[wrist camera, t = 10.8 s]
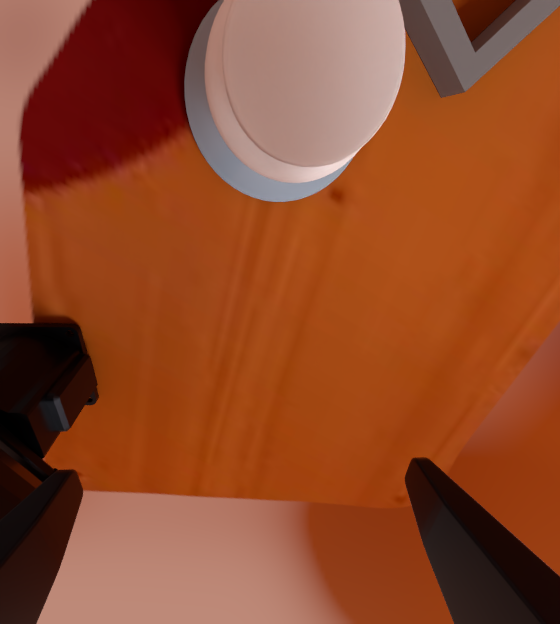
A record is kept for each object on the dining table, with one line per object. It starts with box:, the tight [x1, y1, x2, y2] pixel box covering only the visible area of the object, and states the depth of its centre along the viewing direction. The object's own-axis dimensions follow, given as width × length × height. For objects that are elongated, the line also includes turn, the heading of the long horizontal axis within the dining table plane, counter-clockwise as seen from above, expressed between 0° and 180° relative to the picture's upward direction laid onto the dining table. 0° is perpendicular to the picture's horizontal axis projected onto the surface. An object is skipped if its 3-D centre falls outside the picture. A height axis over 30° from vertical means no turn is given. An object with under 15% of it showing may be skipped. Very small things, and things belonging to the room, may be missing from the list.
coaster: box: [184, 0, 353, 202], centre depth 15 cm, size 9×9×1 cm
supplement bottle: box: [205, 0, 405, 183], centre depth 11 cm, size 5×5×10 cm
